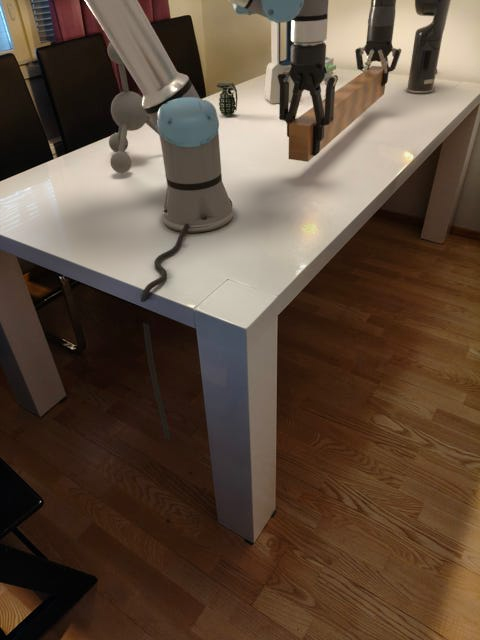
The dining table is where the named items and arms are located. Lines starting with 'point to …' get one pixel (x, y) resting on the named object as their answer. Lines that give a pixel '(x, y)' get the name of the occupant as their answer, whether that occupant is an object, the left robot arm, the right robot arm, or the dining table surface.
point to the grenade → (227, 99)
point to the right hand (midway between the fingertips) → (374, 84)
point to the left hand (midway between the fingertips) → (304, 152)
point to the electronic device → (278, 64)
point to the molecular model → (125, 117)
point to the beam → (336, 113)
